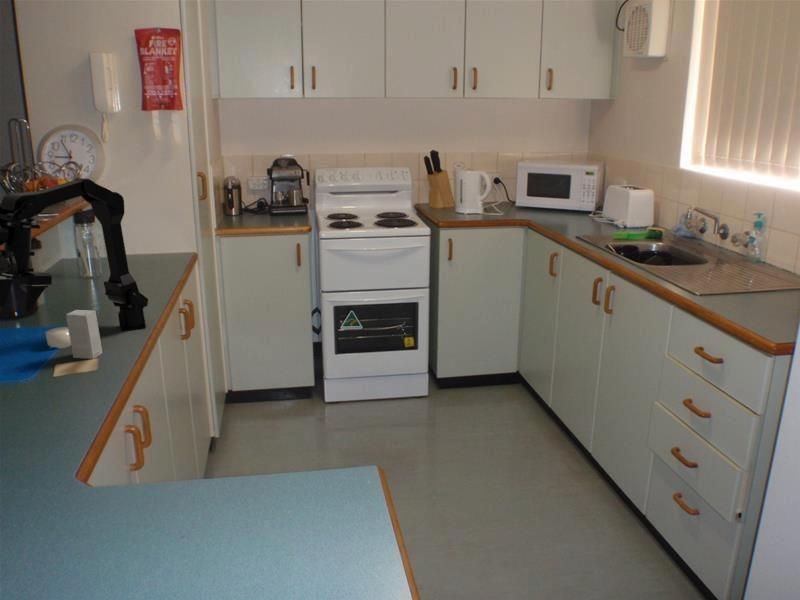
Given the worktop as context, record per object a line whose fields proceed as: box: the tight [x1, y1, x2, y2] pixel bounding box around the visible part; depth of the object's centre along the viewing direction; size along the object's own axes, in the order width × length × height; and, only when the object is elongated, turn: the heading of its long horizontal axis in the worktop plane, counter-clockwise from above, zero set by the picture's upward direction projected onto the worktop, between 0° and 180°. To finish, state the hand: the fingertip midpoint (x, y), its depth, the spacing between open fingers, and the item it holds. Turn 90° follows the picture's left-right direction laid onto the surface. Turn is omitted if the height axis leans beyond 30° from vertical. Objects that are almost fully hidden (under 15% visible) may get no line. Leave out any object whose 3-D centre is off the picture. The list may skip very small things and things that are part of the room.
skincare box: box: [65, 309, 103, 360], centre depth 181 cm, size 6×4×12 cm
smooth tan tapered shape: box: [52, 358, 99, 378], centre depth 175 cm, size 10×8×1 cm
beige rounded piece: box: [45, 326, 71, 350], centre depth 190 cm, size 6×6×4 cm
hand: (14, 310), depth 171 cm, fingers open, 9 cm apart
